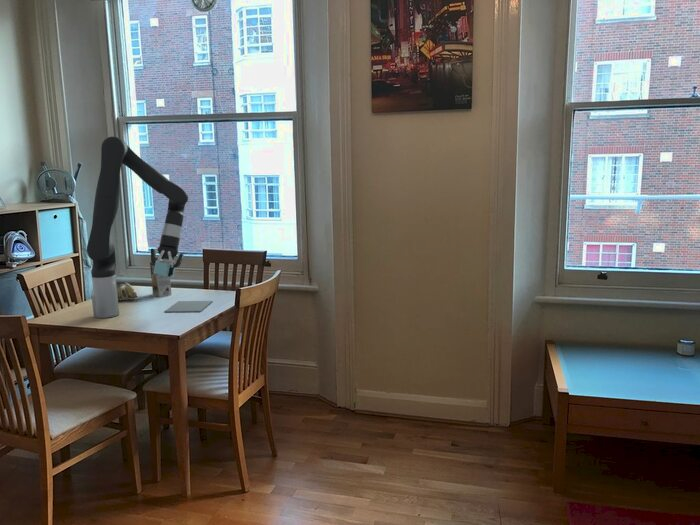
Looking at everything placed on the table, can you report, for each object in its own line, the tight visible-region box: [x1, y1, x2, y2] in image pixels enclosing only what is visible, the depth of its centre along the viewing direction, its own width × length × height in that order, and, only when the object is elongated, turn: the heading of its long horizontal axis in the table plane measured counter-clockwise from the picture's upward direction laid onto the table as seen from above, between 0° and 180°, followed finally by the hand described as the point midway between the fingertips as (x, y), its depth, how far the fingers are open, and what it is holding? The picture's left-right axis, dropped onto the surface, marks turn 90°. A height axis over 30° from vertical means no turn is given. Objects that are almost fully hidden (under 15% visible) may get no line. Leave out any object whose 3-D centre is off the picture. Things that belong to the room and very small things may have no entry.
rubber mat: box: [163, 300, 214, 313], centre depth 246 cm, size 16×18×1 cm
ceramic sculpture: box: [117, 281, 138, 301], centre depth 263 cm, size 11×9×15 cm
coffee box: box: [149, 260, 172, 298], centre depth 270 cm, size 9×6×16 cm
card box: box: [153, 262, 176, 278], centre depth 232 cm, size 5×5×12 cm
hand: (162, 275), depth 231 cm, fingers closed on card box, 5 cm apart
